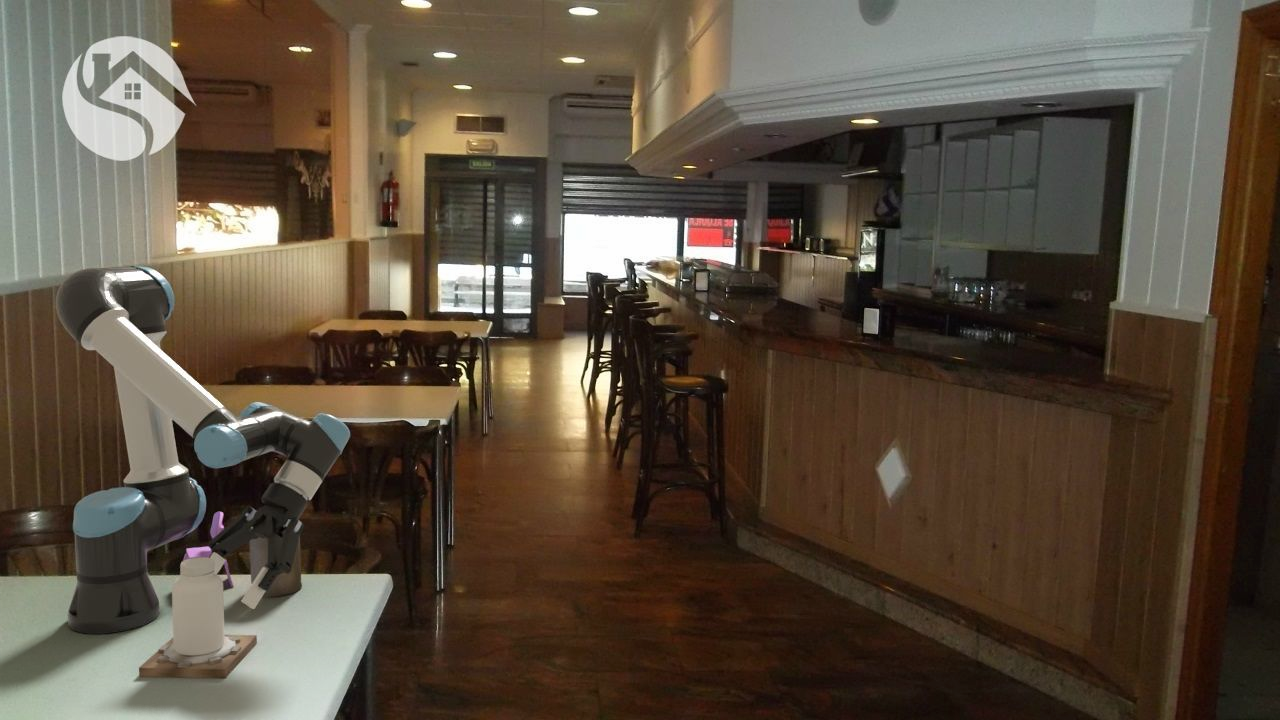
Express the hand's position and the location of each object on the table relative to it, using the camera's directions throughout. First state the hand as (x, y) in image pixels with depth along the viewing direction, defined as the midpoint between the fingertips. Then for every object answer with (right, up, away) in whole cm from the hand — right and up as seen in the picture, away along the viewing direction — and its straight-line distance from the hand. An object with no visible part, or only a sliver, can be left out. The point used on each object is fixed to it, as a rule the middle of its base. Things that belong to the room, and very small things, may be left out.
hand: (222, 597), depth 178 cm
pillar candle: (-2, -6, +32) cm, 33 cm away
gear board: (-3, -10, -2) cm, 11 cm away
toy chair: (-16, -5, +33) cm, 37 cm away
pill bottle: (-3, -8, -2) cm, 9 cm away
